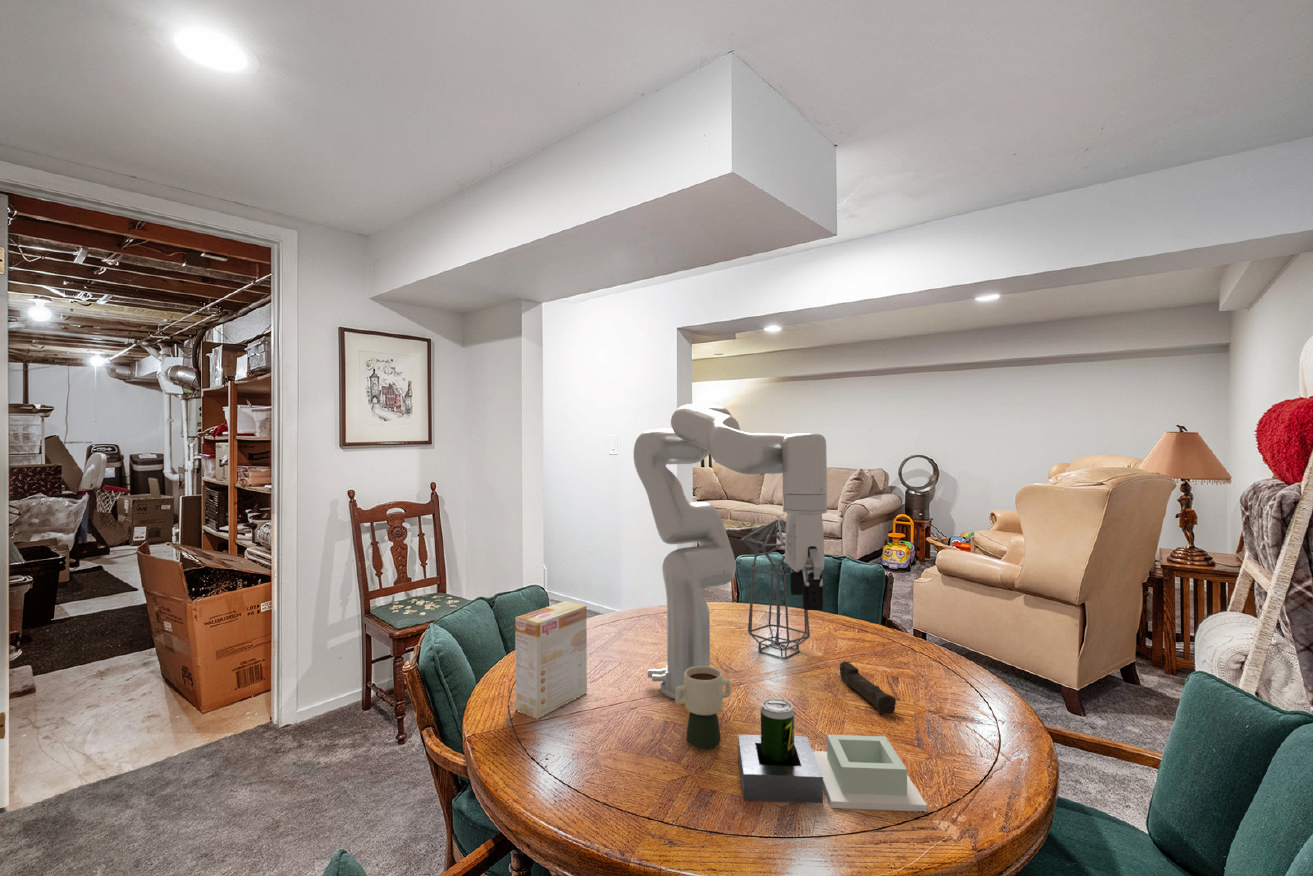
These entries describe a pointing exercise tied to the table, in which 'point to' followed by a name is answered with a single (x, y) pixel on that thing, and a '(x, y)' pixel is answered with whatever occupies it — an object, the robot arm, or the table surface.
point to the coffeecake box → (550, 657)
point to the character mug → (703, 704)
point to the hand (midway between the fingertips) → (805, 601)
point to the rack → (866, 775)
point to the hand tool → (867, 688)
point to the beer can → (777, 733)
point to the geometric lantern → (750, 630)
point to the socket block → (779, 773)
